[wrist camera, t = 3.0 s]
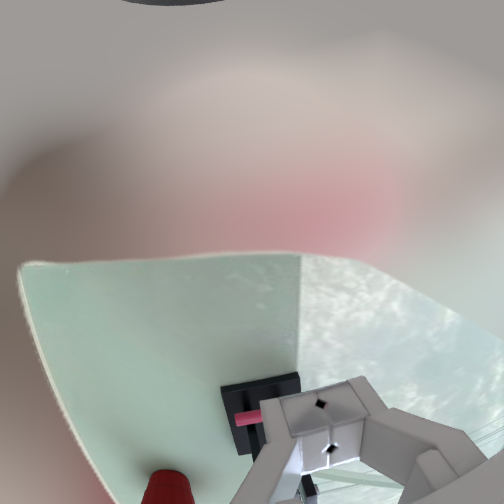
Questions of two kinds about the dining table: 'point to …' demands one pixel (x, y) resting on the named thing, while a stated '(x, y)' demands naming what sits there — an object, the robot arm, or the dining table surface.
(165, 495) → the plastic cup
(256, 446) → the bracket
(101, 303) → the dining table surface
